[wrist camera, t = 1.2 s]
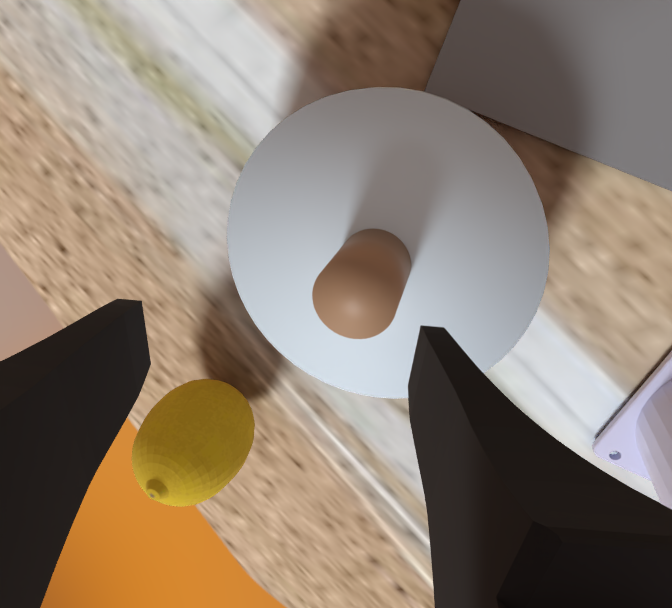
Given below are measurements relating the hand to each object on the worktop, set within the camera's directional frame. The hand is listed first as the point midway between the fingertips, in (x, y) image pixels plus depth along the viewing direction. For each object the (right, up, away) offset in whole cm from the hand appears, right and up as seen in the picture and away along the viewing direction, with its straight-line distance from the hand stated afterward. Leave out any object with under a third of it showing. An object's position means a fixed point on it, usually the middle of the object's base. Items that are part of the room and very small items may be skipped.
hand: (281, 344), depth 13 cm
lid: (+3, +3, +7) cm, 8 cm away
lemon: (-5, -4, +16) cm, 17 cm away
